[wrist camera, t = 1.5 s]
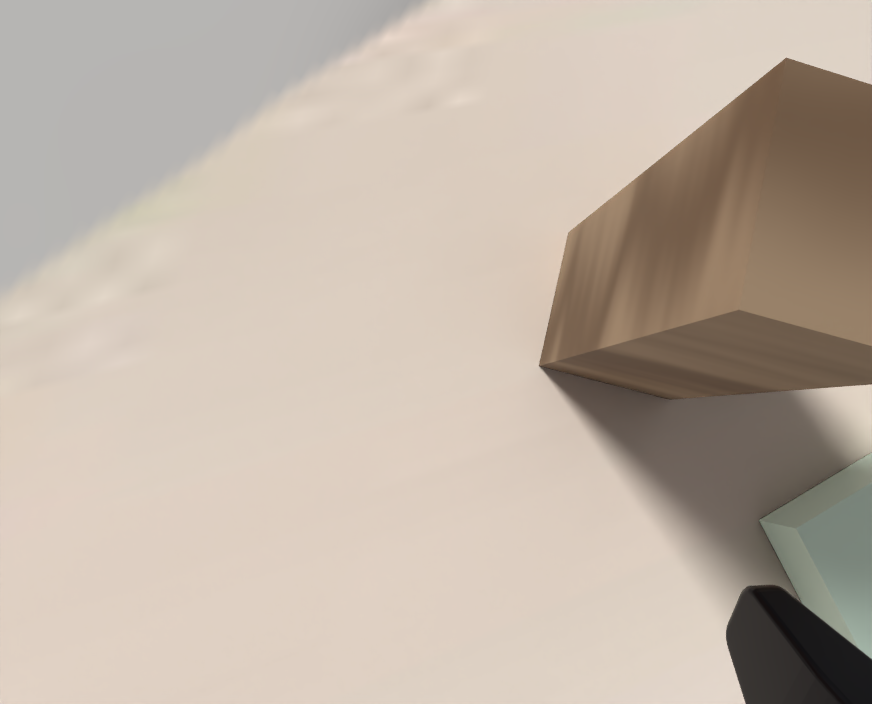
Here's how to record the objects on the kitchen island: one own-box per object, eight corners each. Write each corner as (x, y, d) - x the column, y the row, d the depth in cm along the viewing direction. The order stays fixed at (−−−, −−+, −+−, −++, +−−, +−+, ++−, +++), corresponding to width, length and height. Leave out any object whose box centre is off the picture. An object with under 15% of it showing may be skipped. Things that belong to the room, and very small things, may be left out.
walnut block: (669, 399, 25) (980, 376, 13) (539, 365, 24) (739, 309, 12) (696, 267, 25) (1016, 130, 14) (568, 232, 25) (786, 57, 13)
